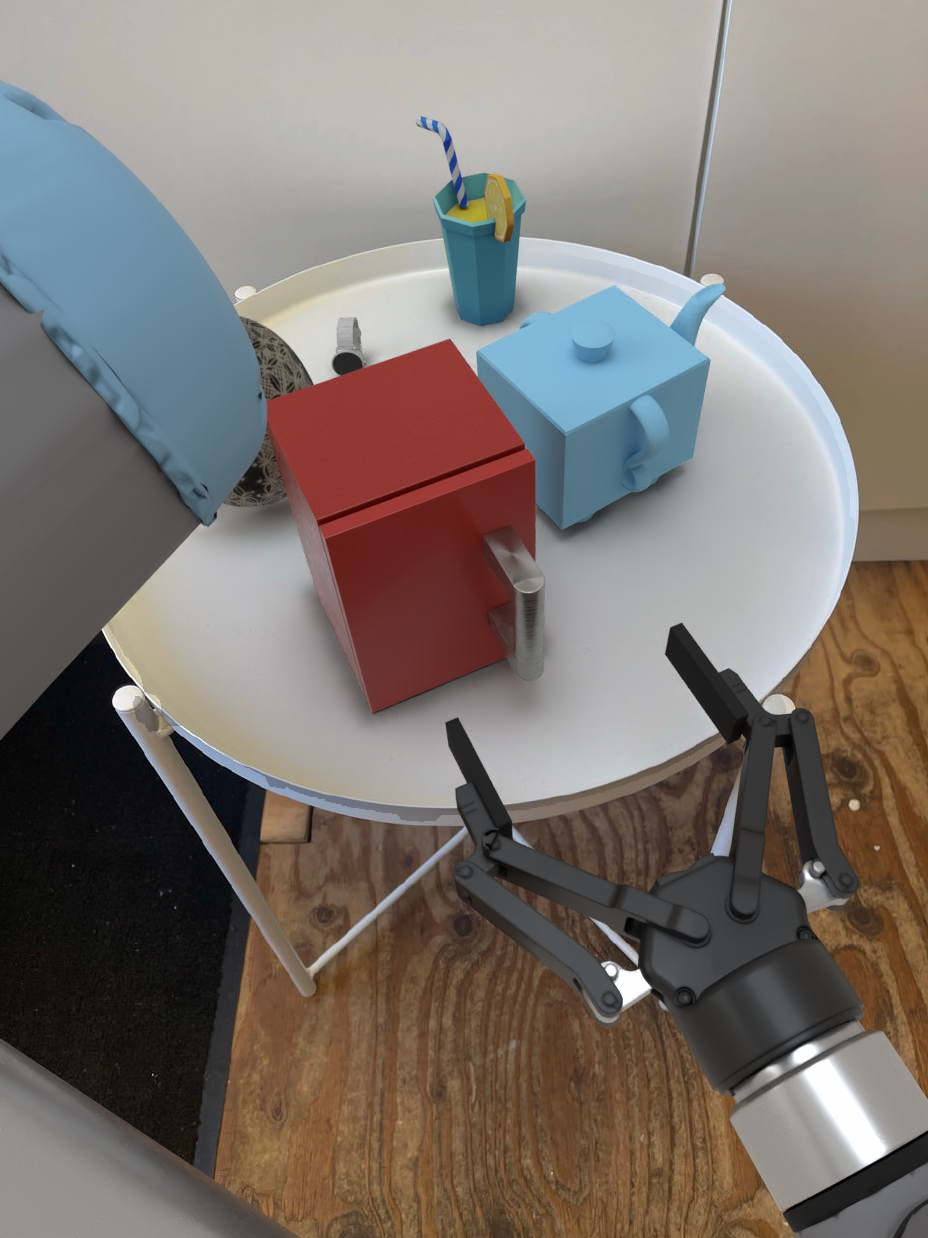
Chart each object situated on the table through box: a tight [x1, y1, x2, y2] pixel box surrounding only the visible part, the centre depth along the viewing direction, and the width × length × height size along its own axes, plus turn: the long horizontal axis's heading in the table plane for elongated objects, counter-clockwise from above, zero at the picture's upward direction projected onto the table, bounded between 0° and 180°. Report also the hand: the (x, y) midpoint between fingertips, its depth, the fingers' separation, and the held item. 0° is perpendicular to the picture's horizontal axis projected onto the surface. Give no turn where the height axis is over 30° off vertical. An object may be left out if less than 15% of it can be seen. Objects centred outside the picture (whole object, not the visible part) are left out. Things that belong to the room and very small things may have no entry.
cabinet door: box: [319, 449, 546, 714], centre depth 56 cm, size 6×12×18 cm, turn 114°
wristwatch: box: [330, 316, 367, 377], centre depth 82 cm, size 3×5×5 cm, turn 1°
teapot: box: [475, 283, 726, 531], centre depth 71 cm, size 18×16×13 cm
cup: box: [415, 115, 527, 327], centre depth 82 cm, size 14×8×15 cm, turn 37°
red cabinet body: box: [266, 338, 525, 699], centre depth 61 cm, size 10×12×18 cm
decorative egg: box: [223, 315, 315, 508], centre depth 70 cm, size 12×12×15 cm
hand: (565, 683), depth 53 cm, fingers open, 13 cm apart
